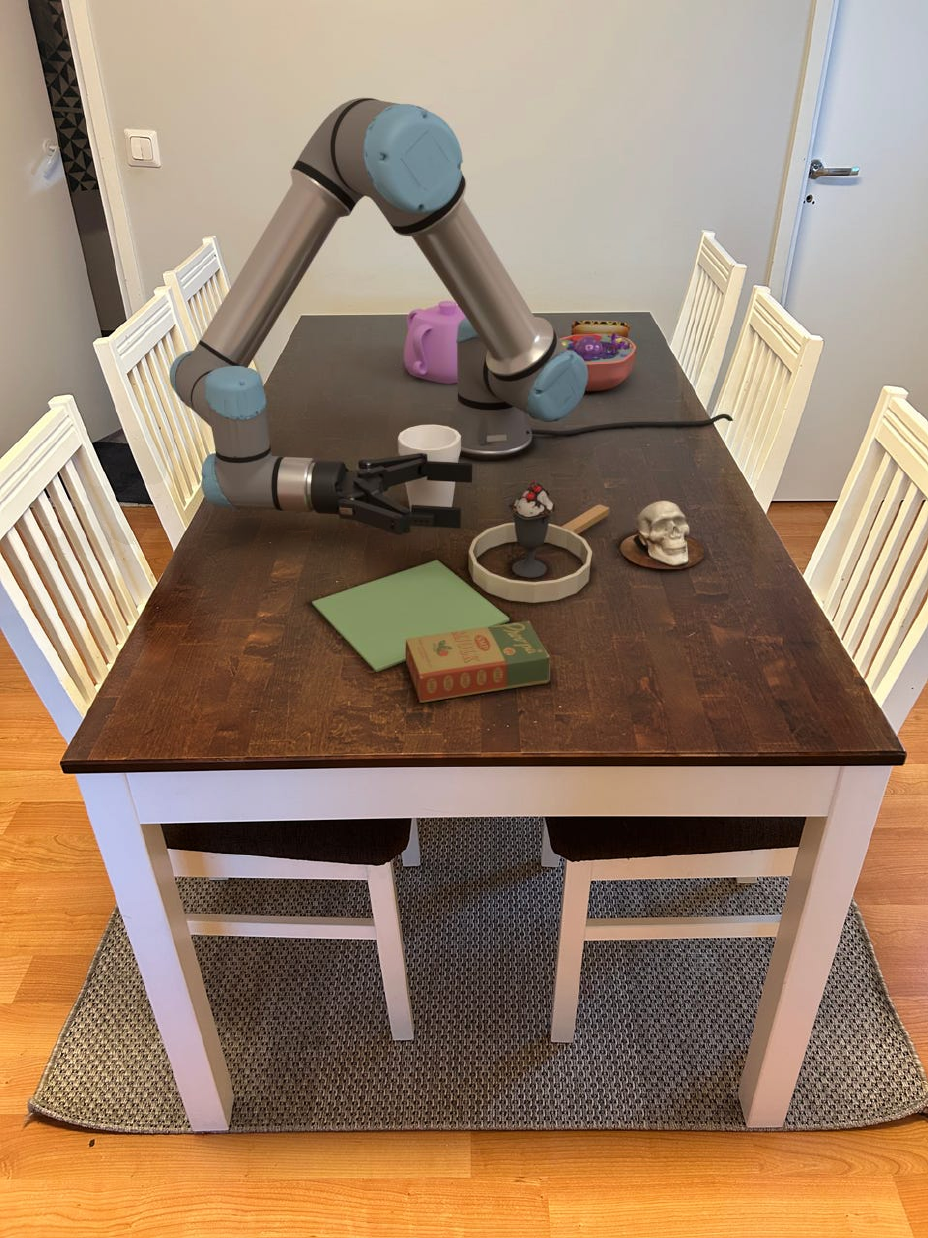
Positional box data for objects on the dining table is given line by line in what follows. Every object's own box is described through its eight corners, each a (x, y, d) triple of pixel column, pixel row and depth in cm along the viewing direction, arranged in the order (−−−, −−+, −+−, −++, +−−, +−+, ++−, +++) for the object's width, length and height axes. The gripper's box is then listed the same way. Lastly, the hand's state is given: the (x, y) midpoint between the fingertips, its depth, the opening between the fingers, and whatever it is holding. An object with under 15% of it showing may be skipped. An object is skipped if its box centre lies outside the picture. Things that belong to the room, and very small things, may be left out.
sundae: (521, 586, 130) (525, 488, 121) (498, 563, 134) (500, 469, 126) (561, 574, 132) (568, 478, 123) (537, 553, 137) (542, 459, 128)
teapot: (404, 355, 208) (401, 290, 200) (496, 353, 209) (498, 288, 201) (405, 387, 192) (402, 317, 184) (505, 384, 193) (507, 315, 185)
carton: (405, 664, 115) (404, 635, 112) (528, 644, 118) (530, 616, 116) (420, 705, 108) (419, 676, 106) (550, 683, 112) (552, 655, 109)
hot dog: (628, 348, 212) (631, 326, 210) (570, 346, 213) (571, 324, 211) (627, 341, 216) (630, 319, 214) (570, 339, 218) (571, 317, 215)
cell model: (648, 379, 196) (654, 325, 189) (608, 410, 182) (613, 353, 176) (576, 364, 203) (580, 312, 197) (532, 393, 189) (534, 338, 183)
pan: (587, 512, 147) (589, 495, 146) (663, 559, 135) (666, 541, 134) (446, 560, 135) (446, 542, 134) (516, 616, 123) (517, 597, 122)
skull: (724, 561, 133) (687, 520, 127) (667, 607, 136) (628, 568, 130) (692, 519, 142) (655, 479, 136) (639, 562, 145) (601, 525, 139)
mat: (437, 561, 135) (437, 559, 135) (509, 620, 123) (509, 618, 122) (312, 604, 126) (311, 601, 126) (376, 672, 113) (376, 669, 113)
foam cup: (391, 521, 145) (388, 444, 137) (414, 496, 152) (412, 421, 144) (448, 532, 142) (448, 453, 135) (469, 505, 149) (469, 429, 142)
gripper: (337, 471, 142) (475, 479, 140) (294, 554, 121) (455, 564, 119) (334, 425, 138) (476, 432, 136) (288, 502, 117) (455, 512, 115)
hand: (466, 494), depth 128 cm, fingers open, 13 cm apart
